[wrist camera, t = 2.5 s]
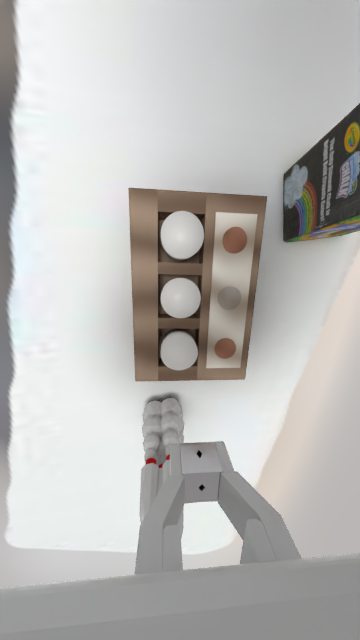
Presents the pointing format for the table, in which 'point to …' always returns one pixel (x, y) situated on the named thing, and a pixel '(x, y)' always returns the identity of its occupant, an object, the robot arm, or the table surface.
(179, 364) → the button
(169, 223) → the button
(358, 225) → the chalk box
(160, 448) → the rocket model
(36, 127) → the table surface
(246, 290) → the board
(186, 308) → the middle button
